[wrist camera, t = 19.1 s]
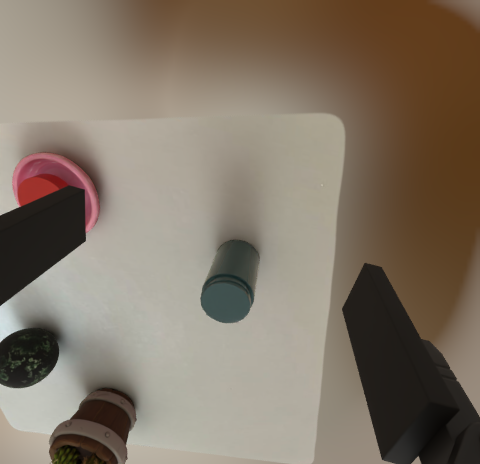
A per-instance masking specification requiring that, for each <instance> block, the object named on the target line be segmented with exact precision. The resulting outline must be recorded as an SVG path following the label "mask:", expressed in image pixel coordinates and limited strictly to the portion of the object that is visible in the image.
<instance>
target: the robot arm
mask: <svg viewBox="0 0 480 464" xmlns="http://www.w3.org/2000/svg"><path fill="white" fill-rule="evenodd" d="M85 241H86V223H85V189H81V188H78V187H74V186H70V185H68V186H66V187H64V188H62V189H59V190H57V191H55V192H53V193H50V194H48V195H46V196H43V197H41V198H39V199H37V200H34V201H32V202H30V203H28V204H25V205H23V206H21V207H19V208H16V209H14V210H12V211H10V212H7V213H5V214H3V215H0V306H1V305H2V304H3V303H5V302H6V301H7V300H9V299H10V298H11V297H13V296H14V295H15V294H17V293H18V292H19V291H21V290H22V289H23V288H24V287H26V286H27V285H28V284H30V283H31V282H32V281H34V280H35V279H36V278H38V277H39V276H40V275H42V274H43V273H44V272H46V271H47V270H48V269H49V268H51V267H52V266H53V265H55V264H56V263H57V262H59V261H60V260H61V259H63V258H64V257H65V256H67V255H68V254H69V253H71V252H72V251H73V250H74V249H76V248H77V247H78V246H80V245H81V244H82V243H84V242H85ZM342 311H343V315H344V318H345V322H346V326H347V330H348V333H349V337H350V341H351V345H352V348H353V352H354V356H355V360H356V363H357V367H358V371H359V375H360V379H361V382H362V386H363V390H364V394H365V397H366V401H367V405H368V409H369V412H370V416H371V420H372V424H373V427H374V431H375V435H376V439H377V443H378V446H379V450H380V454H381V457H382V460H384V461H388V462H392V463H395V464H411V463H412V462H413V461H414V460H415V459H416V458H417V457H418V456H419V458H420V461H421V464H480V417H479V415H478V413H477V412H476V410H475V408H474V407H473V405H472V403H471V402H470V400H469V398H468V397H467V395H466V393H465V392H464V390H463V388H462V387H461V385H460V383H459V382H458V381H456V379H457V378H456V377H455V375H454V373H453V372H452V370H450V367H449V365H448V363H447V362H446V360H445V358H444V357H443V355H442V354H441V353H440V352H439V350H438V349H436V347H435V346H434V345H433V344H432V343H431V342H430V341H427V340H423V339H421V338H420V336H419V334H418V333H417V331H416V329H415V327H414V325H413V323H412V321H411V320H410V318H409V316H408V315H407V312H406V311H405V309H404V307H403V305H402V304H401V302H400V300H399V298H398V297H397V294H396V292H395V291H394V289H393V287H392V285H391V284H390V282H389V280H388V278H387V276H386V274H385V273H384V271H383V269H382V267H379V266H375V265H371V264H367V263H365V264H364V266H363V268H362V270H361V272H360V274H359V276H358V278H357V280H356V282H355V284H354V286H353V288H352V290H351V292H350V294H349V296H348V299H347V300H346V302H345V304H344V306H343V308H342Z"/></svg>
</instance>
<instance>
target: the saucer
mask: <svg viewBox="0 0 480 464" xmlns="http://www.w3.org/2000/svg"><path fill="white" fill-rule="evenodd" d="M39 174H52V175H55V176H57V177H59V178H61V179H62V180H64V181H65V182H66V183H67V184H68V185H70V186H74V187H78V188H81V189H85V223H86V233H87V232H88V231H90V230H91V229H92V228H93V226H94V225H95V224H96V222H97V219H98V216H99V210H100V205H99V198H98V194H97V191H96V188H95V186H94V184H93V182H92V181H91V179H90V178H89V176H88V175H87V174H86V173H85V172H84V171H83V170H82V169H81V168H80V167H79V166H78V165H76V164H75V163H74V162H72V161H71V160H69V159H67V158H65V157H63V156H61V155H58V154H54V153H46V152H43V153H35V154H32V155H29V156H27V157H25V158H23V159H22V160H21V161H20V162H19V163H18V165H17V166H16V168H15V170H14V173H13V180H12V183H13V191H14V195H15V198H16V201H17V203H18V205H19V207H21V206H20V204H19V201H18V188H19V186H20V184H21V183H22V182H23V181H24V180H25V179H27V178H30V177H33V176H36V175H39Z"/></svg>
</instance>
